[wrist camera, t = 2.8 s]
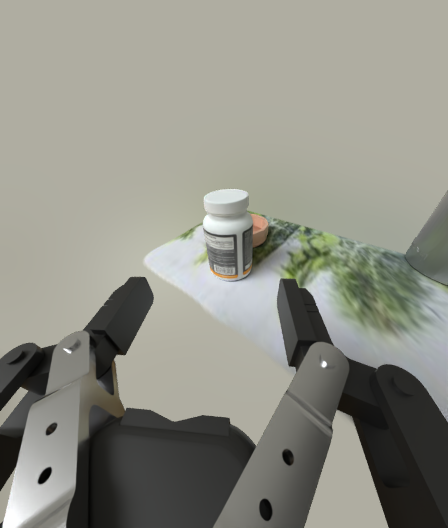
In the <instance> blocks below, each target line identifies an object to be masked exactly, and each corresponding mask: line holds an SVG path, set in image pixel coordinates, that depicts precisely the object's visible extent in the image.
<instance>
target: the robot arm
mask: <svg viewBox="0 0 448 528" xmlns="http://www.w3.org/2000/svg"><path fill="white" fill-rule="evenodd" d="M405 256H406V260H407V261H408V262H409V264H410V265H411V266H413V267H414V268H415V269H416V270H418V271H419V272H421V273H422V274H424V275H426V276H428V277H430V278H431V279H434V280H436V281H438V282H440V283H443V284H445V285H448V191H447V192H446V194H445V195H444V197H443V198H442V200H441V201H440V203H439V204H438V206H437V207H436V209H435V210H434V212H433V213H432V215H431V216H430V218H429V219H428V221H427V222H426V224H425V225H424V227H423V228H422V230H421V231H420V233H419V234H418V236H417V237H416V238H415V239H414V241H413V242H412V245H411V246H410V248H409V249H408V251H407V252H406V255H405ZM153 299H154V297H153V293H152V291H151V288H150V286H149V284H148V282H147V280H146V278H145V277H130V278H129V279H128V281H127V282H126V283H125V284H124V285H122V286H121V287H119V288H118V289H117V290H115V292H113V294H112V295H111V296H110V297H109V300H107V301H106V302H105V304H104V306H102V307H101V308H100V310H99V311H98V312H97V313H96V315H95V316H94V317H93V319H92V320H91V321H90V322H89V323H88V325H87V326H86V327H85V328H84V329H83V331H78V332H74V333H72V334H70V335H68V336H67V337H65V338H64V339H63V340H62V341H60V343H58V344H57V345H52V346H48V347H45V348H40V347H39V346H37V345H36V344H34V343H26V344H22V345H20V346H18V347H16V348H14V349H12V350H11V351H9V352H8V353H7V354H6V355H4V356H3V357H2V358H1V359H0V411H1V410H2V408H3V407H4V406H5V405H6V404H7V402H8V401H9V400H10V399H11V397H12V396H13V395H14V394H15V393H16V391H17V390H18V389H19V388H20V387H22V388H24V389H26V390H28V392H27V394H26V395H25V396H24V397H23V399H22V400H21V401H20V403H19V404H18V405H17V407H16V408H15V409H14V410H13V412H12V413H11V414H10V416H9V417H8V418H7V419H6V421H5V422H4V423H3V425H2V426H1V427H0V491H1V489H2V488H3V486H4V484H5V483H6V481H7V480H8V478H9V477H10V475H11V474H12V472H13V471H14V469H15V467H16V471H15V475H14V479H13V483H12V488H11V492H10V496H9V501H8V505H7V509H6V514H5V518H4V521H3V522H2V523H1V524H0V528H304V526H305V523H306V520H307V516H308V513H309V510H310V507H311V504H312V500H313V497H314V494H315V490H316V488H317V484H318V481H319V478H320V475H321V472H322V468H323V465H324V462H325V459H326V456H327V452H328V449H329V446H330V443H331V439H332V433H333V430H332V422H333V419H334V416H335V413H336V410H339V411H341V412H344V413H346V414H348V415H350V416H352V418H353V421H354V424H355V427H356V430H357V433H358V436H359V439H360V442H361V445H362V448H363V451H364V454H365V457H366V460H367V463H368V466H369V469H370V472H371V475H372V478H373V481H374V484H375V487H376V490H377V493H378V497H379V500H380V503H381V506H382V508H383V512H384V515H385V518H386V521H387V524H388V527H389V528H448V422H447V421H446V419H445V418H444V416H443V415H442V413H441V412H440V410H439V408H438V407H437V405H436V404H435V402H434V401H433V399H432V398H431V396H430V395H429V393H428V391H427V390H426V388H425V387H424V386H423V385H422V383H421V382H420V381H419V380H418V379H417V378H416V377H414V376H413V375H412V374H411V373H409V372H408V371H406V370H404V369H402V368H400V367H398V366H394V365H388V364H386V365H382V366H380V367H379V368H378V369H376V368H373V367H370V366H368V365H365V364H362V363H359V362H356V361H354V360H351V359H349V358H347V357H346V356H345V355H344V354H343V353H342V352H341V351H340V350H339V349H338V348H336V347H335V346H334V345H333V343H332V341H331V339H330V336H329V334H328V332H327V329H326V327H325V324H324V322H323V320H322V317H321V315H320V313H319V310H318V308H317V306H316V303H315V300H314V298H313V296H312V295H311V294H310V293H309V291H308V290H307V289H306V288H299V287H298V284H297V282H296V279H280V284H279V290H278V296H277V308H278V313H279V318H280V323H281V329H282V334H283V339H284V344H285V350H286V355H287V360H288V365H289V366H292V367H296V372H297V373H296V375H295V376H294V378H293V380H292V382H291V384H290V386H289V388H288V390H287V391H286V393H285V394H284V396H283V398H282V400H281V401H280V403H279V405H278V407H277V409H276V411H275V413H274V415H273V416H272V418H271V420H270V422H269V424H268V426H267V428H266V429H265V431H264V433H263V435H262V437H261V439H260V441H259V443H258V444H257V446H256V445H255V444H254V443H253V441H252V440H251V439H250V438H249V437H248V436H247V435H246V434H245V433H244V432H243V431H241V430H240V429H239V428H237V427H235V426H233V425H231V424H230V419H229V418H225V417H214V416H204V415H202V416H198V417H194V418H190V419H186V420H182V421H177V422H173V421H170V420H169V419H167V418H165V417H163V416H161V415H159V414H157V413H155V412H153V411H151V410H144V409H134V408H126V411H125V409H124V407H123V405H122V403H121V400H120V398H119V391H118V382H117V374H116V364H115V361H114V358H115V356H116V355H126V353H127V351H128V349H129V347H130V345H131V343H132V342H133V340H134V338H135V336H136V334H137V332H138V330H139V328H140V326H141V324H142V322H143V321H144V319H145V317H146V315H147V313H148V311H149V309H150V307H151V306H152V304H153Z"/></svg>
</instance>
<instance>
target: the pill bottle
mask: <svg viewBox="0 0 448 528" xmlns="http://www.w3.org/2000/svg"><path fill="white" fill-rule="evenodd" d="M248 205H249V196H248V193H247V192H246V191H243V190H238V189H224V190H218V191H214V192H211V193H209V194H207V195H205V196H204V206H205V210H206V212H207V213H208V214H207V215H206V216H205V218H204V221H203V229H204V235H205V241H206V247H207V253H208V258H209V265H210V270H211V272H212V274H213V275H214V276H215V277H217V278H219V279H221V280H225V281H235V280H239V279H242V278H244V277H245V276H247V275H248V274H249V272H250V271H251V268H252V251H253V219H252V216H251V215H250V214H249V213H248V212H247V211H246V209H247V207H248Z"/></svg>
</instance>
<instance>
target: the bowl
mask: <svg viewBox="0 0 448 528" xmlns="http://www.w3.org/2000/svg"><path fill="white" fill-rule="evenodd" d="M250 215H251V216H252V219H253V248H254V247H257V246H259V245H261V244H263V243H264V242H265V241H266V238H267V235H268V225H269V223H268V222H267V220H266V218H263V217H261V216H259V215H256V214H250Z"/></svg>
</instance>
